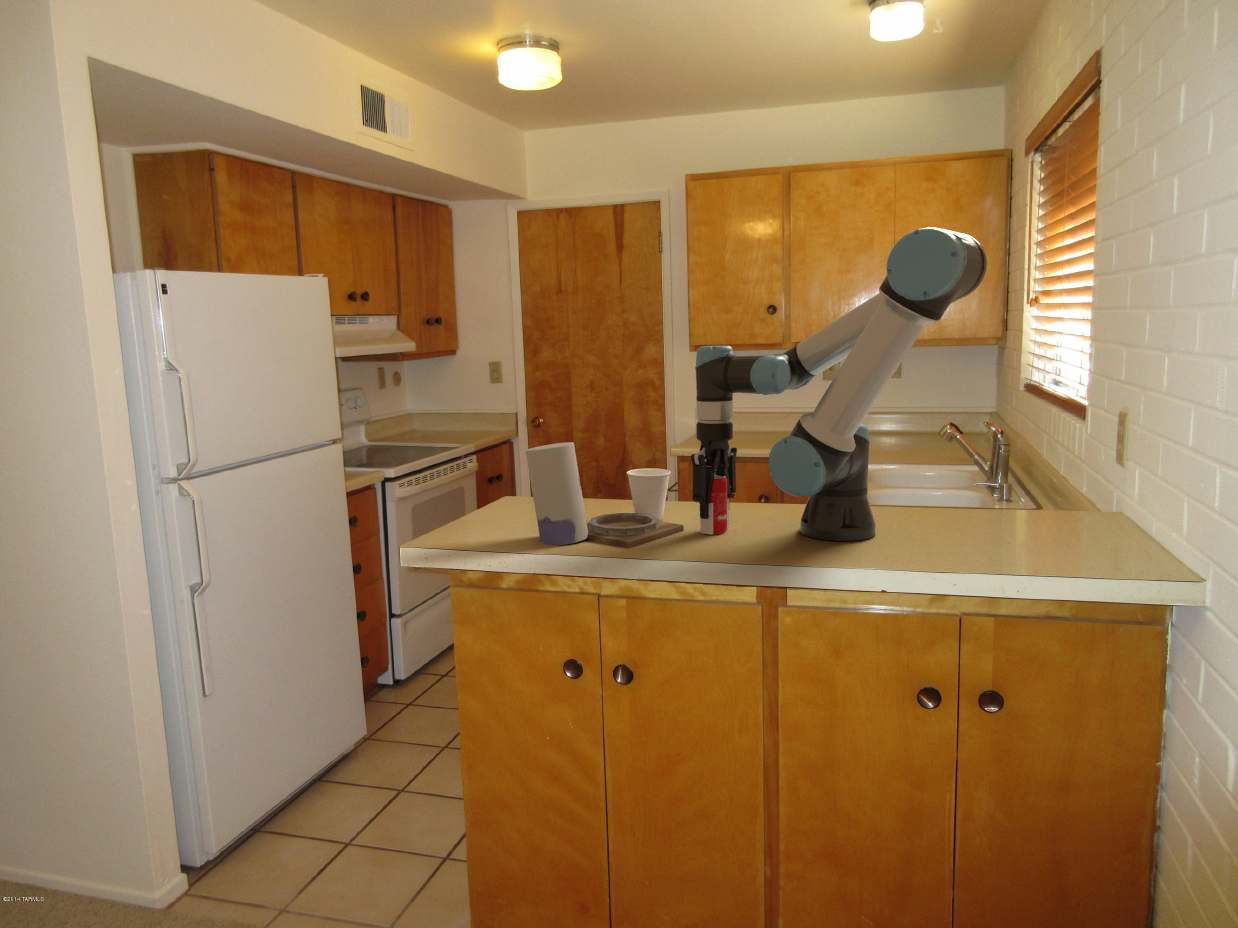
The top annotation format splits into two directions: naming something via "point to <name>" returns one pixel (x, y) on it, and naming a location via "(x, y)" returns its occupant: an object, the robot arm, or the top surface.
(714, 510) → the beverage can
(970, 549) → the top surface
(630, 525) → the collar board
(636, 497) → the cup
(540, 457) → the container
